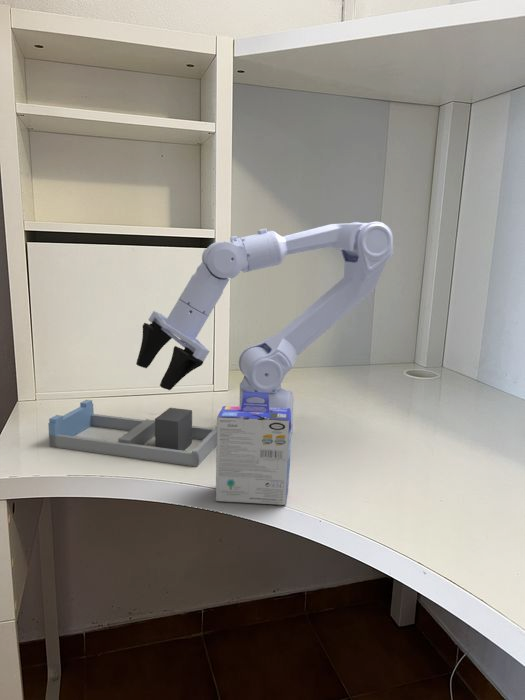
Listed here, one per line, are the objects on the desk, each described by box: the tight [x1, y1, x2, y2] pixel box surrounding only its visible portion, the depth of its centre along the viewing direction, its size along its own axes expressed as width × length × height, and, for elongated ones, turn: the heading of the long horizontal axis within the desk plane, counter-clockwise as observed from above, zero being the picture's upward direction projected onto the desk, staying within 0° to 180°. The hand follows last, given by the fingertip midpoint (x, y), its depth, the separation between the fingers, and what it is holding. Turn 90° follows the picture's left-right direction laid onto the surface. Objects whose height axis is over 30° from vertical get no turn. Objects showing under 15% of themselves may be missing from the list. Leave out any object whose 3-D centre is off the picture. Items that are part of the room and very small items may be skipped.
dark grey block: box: [154, 407, 193, 451], centre depth 91 cm, size 4×6×6 cm, turn 165°
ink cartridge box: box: [215, 391, 292, 506], centre depth 75 cm, size 10×6×14 cm, turn 86°
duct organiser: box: [48, 399, 217, 468], centre depth 93 cm, size 26×12×5 cm, turn 75°
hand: (152, 376), depth 92 cm, fingers open, 7 cm apart
